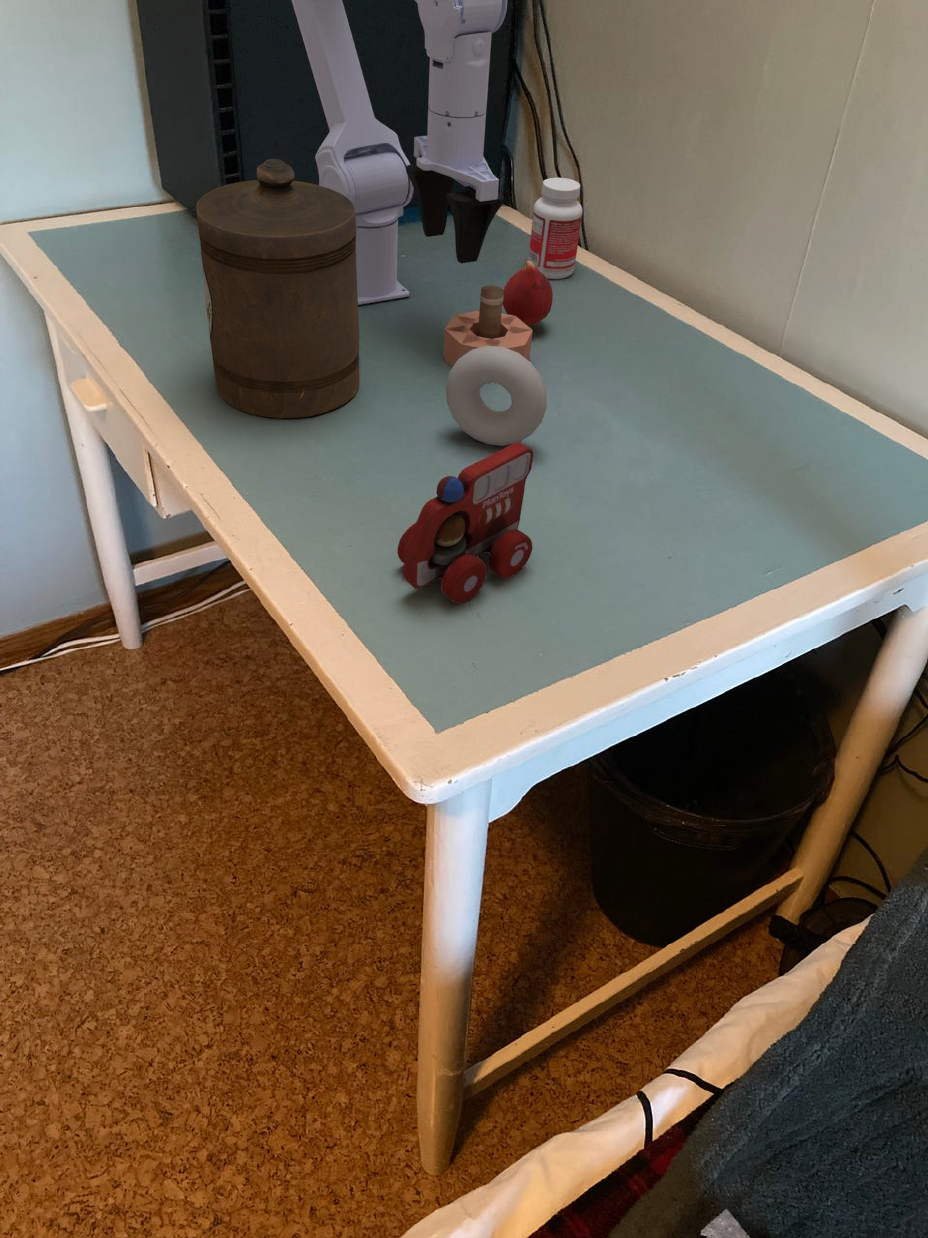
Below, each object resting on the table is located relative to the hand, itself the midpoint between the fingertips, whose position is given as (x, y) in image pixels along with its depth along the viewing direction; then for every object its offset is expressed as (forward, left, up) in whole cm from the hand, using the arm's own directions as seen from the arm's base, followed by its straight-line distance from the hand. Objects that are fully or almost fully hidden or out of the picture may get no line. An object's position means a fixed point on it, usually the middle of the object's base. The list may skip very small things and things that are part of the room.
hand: (450, 247), depth 104 cm
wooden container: (+3, -20, -11) cm, 23 cm away
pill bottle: (-12, +22, -11) cm, 27 cm away
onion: (+1, +10, -11) cm, 15 cm away
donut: (+21, -6, -11) cm, 25 cm away
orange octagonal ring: (+6, +2, -10) cm, 12 cm away
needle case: (+6, +2, -10) cm, 12 cm away
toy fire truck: (+37, -18, -11) cm, 43 cm away
